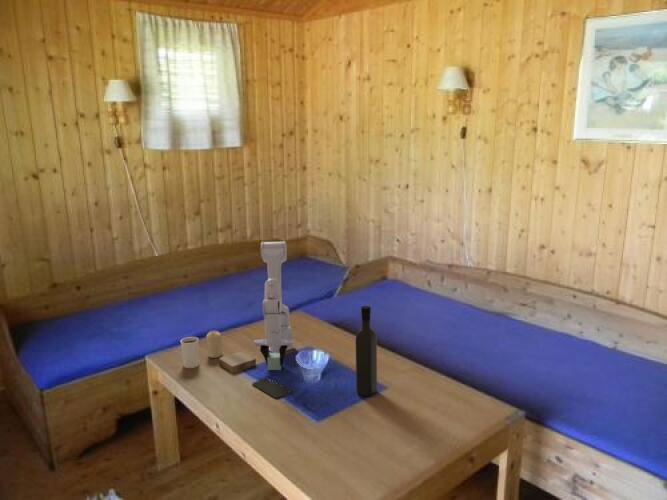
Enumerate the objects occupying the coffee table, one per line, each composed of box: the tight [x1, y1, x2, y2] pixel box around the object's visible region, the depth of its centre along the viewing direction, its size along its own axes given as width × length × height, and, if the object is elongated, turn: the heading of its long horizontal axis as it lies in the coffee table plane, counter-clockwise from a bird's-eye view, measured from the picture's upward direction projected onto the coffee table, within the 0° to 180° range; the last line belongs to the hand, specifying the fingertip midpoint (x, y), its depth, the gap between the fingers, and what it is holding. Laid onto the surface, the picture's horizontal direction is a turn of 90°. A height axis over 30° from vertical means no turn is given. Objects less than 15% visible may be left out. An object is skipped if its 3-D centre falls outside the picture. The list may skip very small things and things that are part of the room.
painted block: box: [267, 352, 282, 371], centre depth 203 cm, size 4×4×5 cm
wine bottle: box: [355, 305, 378, 398], centre depth 180 cm, size 6×6×30 cm
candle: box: [206, 329, 223, 359], centre depth 215 cm, size 6×6×10 cm
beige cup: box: [180, 336, 200, 369], centre depth 207 cm, size 7×7×10 cm
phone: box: [251, 377, 293, 400], centre depth 188 cm, size 7×1×15 cm
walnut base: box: [218, 350, 257, 374], centre depth 207 cm, size 10×10×3 cm
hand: (274, 364), depth 203 cm, fingers closed on painted block, 4 cm apart
